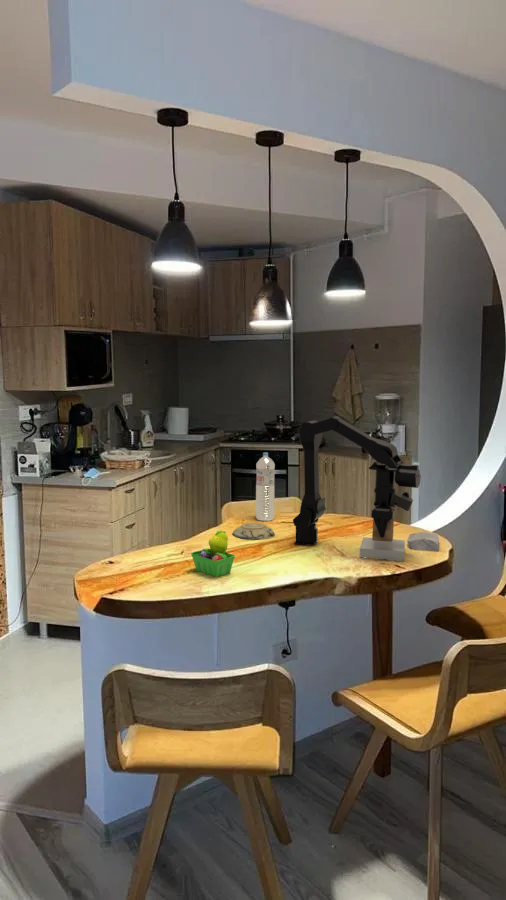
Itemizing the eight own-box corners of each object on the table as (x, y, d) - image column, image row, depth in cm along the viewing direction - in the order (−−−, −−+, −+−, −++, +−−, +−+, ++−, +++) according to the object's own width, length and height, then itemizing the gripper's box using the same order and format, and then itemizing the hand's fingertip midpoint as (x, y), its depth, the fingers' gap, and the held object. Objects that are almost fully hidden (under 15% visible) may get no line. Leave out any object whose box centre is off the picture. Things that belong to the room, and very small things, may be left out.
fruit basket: (189, 570, 196) (189, 531, 194) (212, 563, 202) (212, 526, 200) (216, 579, 188) (215, 539, 186) (239, 572, 194) (239, 533, 192)
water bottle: (253, 517, 258) (253, 451, 255) (270, 516, 261) (271, 451, 257) (259, 522, 252) (259, 454, 249) (276, 520, 254) (277, 453, 251)
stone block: (409, 555, 217) (441, 551, 215) (406, 541, 217) (439, 536, 215) (408, 547, 229) (439, 543, 227) (406, 533, 229) (436, 528, 227)
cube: (372, 540, 210) (372, 521, 209) (373, 535, 216) (374, 516, 215) (392, 541, 209) (393, 522, 208) (393, 536, 214) (393, 517, 214)
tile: (359, 557, 208) (359, 548, 208) (363, 546, 221) (363, 537, 220) (403, 561, 205) (403, 551, 205) (404, 549, 218) (404, 540, 217)
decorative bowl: (236, 529, 244) (227, 539, 229) (236, 519, 243) (227, 528, 228) (278, 531, 241) (271, 542, 226) (278, 521, 240) (272, 531, 226)
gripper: (411, 492, 199) (409, 544, 201) (412, 480, 217) (410, 529, 219) (372, 490, 202) (370, 541, 204) (376, 478, 220) (374, 526, 222)
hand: (382, 534), depth 212 cm, fingers closed on cube, 6 cm apart
